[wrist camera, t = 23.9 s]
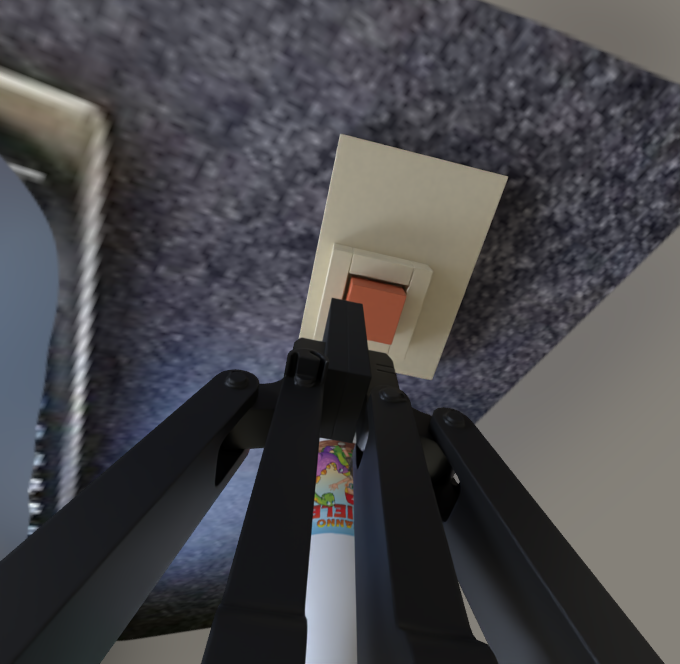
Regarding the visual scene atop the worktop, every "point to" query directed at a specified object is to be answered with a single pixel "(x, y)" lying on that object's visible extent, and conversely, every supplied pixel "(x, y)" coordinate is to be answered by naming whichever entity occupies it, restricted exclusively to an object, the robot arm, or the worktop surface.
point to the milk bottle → (332, 560)
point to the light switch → (402, 242)
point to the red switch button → (378, 307)
